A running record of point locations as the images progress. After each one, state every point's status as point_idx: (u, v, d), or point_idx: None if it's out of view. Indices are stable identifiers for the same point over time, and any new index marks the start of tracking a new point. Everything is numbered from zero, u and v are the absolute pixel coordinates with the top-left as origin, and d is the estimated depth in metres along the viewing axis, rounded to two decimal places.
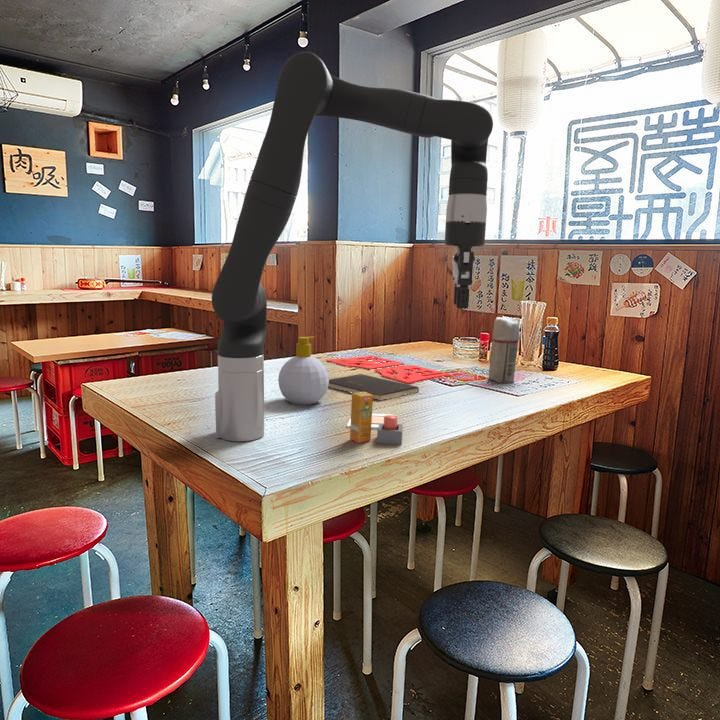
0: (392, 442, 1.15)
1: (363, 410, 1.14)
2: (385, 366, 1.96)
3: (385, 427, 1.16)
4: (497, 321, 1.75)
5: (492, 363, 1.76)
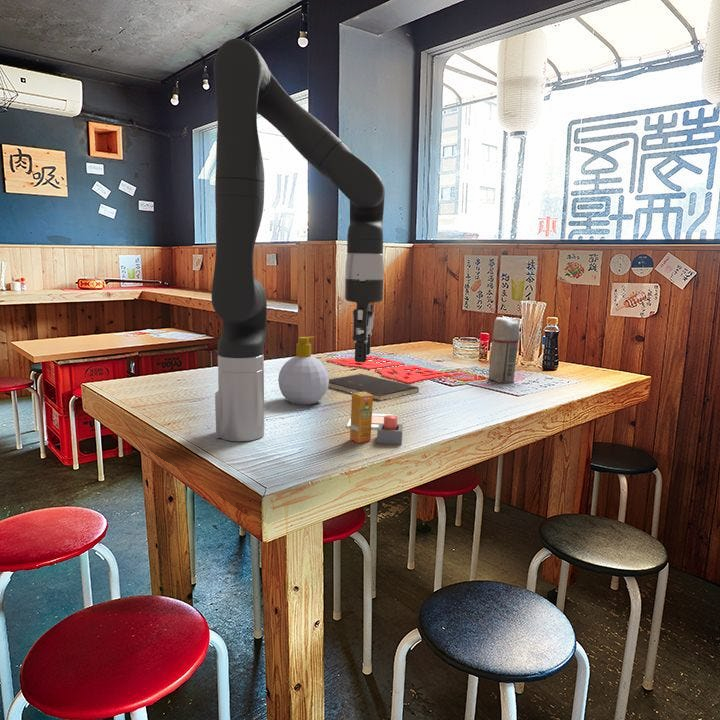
0: (392, 442, 1.15)
1: (363, 410, 1.14)
2: (385, 366, 1.96)
3: (385, 427, 1.16)
4: (497, 321, 1.75)
5: (492, 363, 1.76)
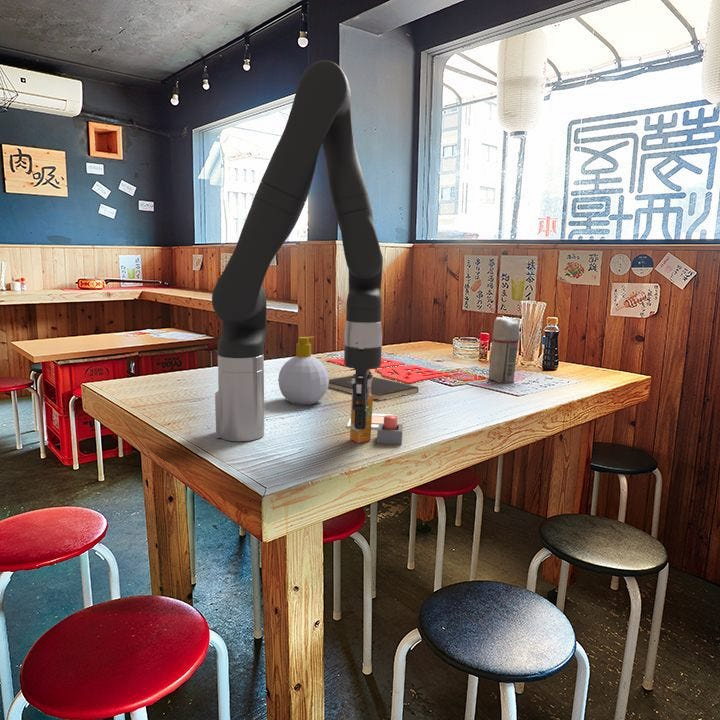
0: (392, 442, 1.15)
1: None
2: (385, 366, 1.96)
3: (385, 427, 1.16)
4: (497, 321, 1.75)
5: (492, 363, 1.76)
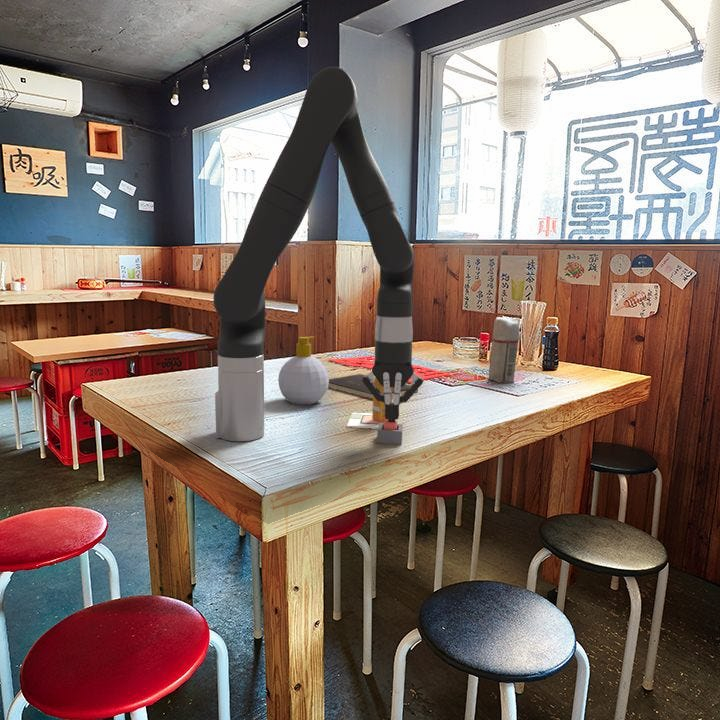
0: (392, 442, 1.15)
1: None
2: None
3: None
4: (497, 321, 1.75)
5: (492, 363, 1.76)
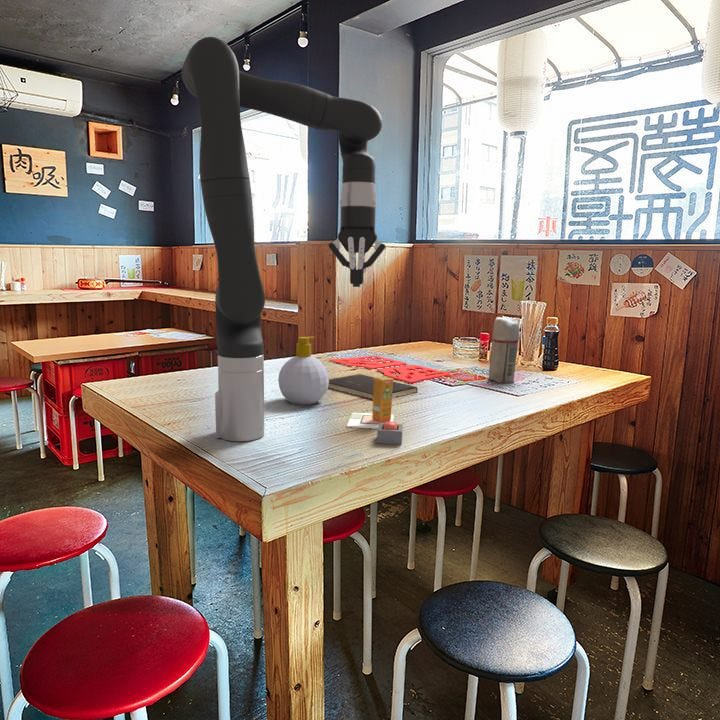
0: (392, 442, 1.15)
1: (384, 392, 1.27)
2: (387, 366, 1.96)
3: None
4: (497, 321, 1.75)
5: (492, 363, 1.76)
